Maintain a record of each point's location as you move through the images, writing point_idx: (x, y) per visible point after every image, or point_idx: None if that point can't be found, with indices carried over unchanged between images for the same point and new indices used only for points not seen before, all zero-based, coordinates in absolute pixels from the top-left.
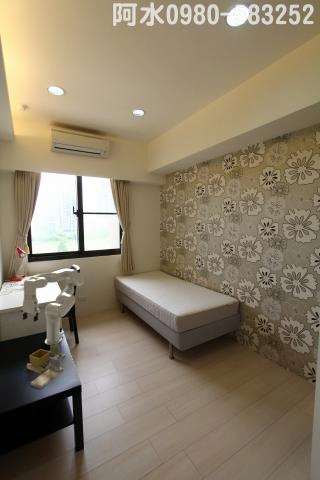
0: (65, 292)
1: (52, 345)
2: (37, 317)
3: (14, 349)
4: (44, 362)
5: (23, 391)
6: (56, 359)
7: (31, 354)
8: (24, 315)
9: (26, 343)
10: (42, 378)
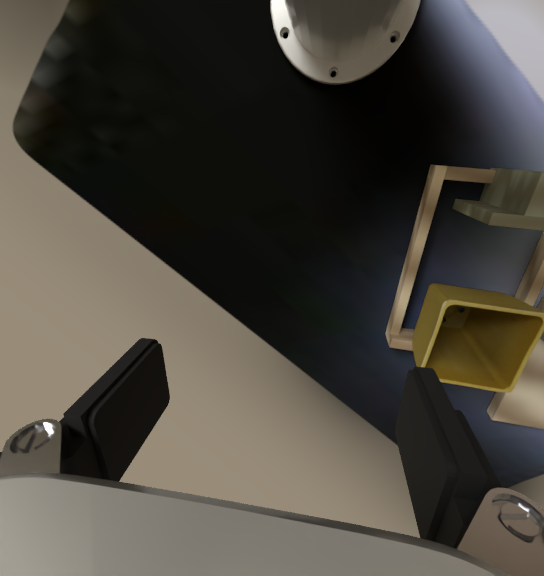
0: None
1: (510, 216)
2: (479, 459)
3: (169, 211)
4: (496, 324)
5: None
6: None
7: (423, 365)
8: (126, 453)
9: (170, 125)
10: (537, 395)
